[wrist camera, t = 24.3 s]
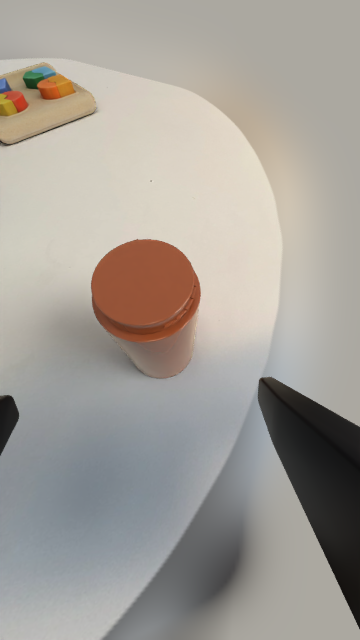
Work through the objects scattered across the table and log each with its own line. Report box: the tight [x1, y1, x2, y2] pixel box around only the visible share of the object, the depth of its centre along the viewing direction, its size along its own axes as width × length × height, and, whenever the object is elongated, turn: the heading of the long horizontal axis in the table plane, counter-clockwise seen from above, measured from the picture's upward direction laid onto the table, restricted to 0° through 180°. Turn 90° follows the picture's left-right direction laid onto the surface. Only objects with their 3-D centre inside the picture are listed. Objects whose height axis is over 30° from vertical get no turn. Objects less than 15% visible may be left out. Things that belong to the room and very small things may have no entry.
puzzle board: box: [0, 62, 96, 144], centre depth 39 cm, size 18×19×3 cm
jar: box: [91, 239, 201, 378], centre depth 16 cm, size 6×6×11 cm
